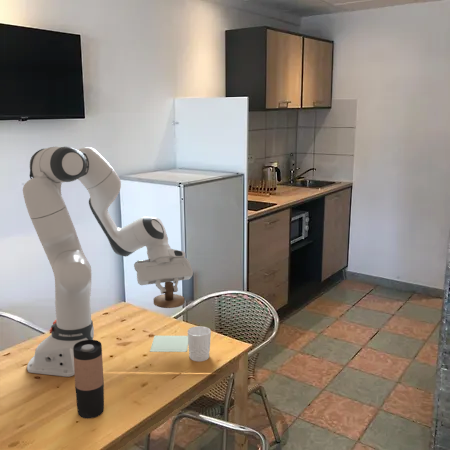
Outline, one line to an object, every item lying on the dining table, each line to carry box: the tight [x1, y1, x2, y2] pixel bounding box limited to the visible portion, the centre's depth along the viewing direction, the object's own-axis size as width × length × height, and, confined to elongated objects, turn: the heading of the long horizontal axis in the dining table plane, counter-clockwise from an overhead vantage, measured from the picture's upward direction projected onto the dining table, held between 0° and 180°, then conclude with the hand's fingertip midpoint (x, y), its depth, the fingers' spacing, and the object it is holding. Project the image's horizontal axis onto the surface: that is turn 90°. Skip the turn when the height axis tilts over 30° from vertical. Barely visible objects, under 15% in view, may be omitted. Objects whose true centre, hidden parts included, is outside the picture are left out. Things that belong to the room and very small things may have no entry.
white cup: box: [187, 325, 212, 362], centre depth 171 cm, size 8×8×10 cm
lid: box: [153, 281, 185, 309], centre depth 177 cm, size 11×11×7 cm
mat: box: [149, 335, 189, 353], centre depth 181 cm, size 13×13×1 cm
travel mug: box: [73, 339, 105, 420], centre depth 138 cm, size 8×8×20 cm
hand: (169, 292), depth 176 cm, fingers closed on lid, 3 cm apart
